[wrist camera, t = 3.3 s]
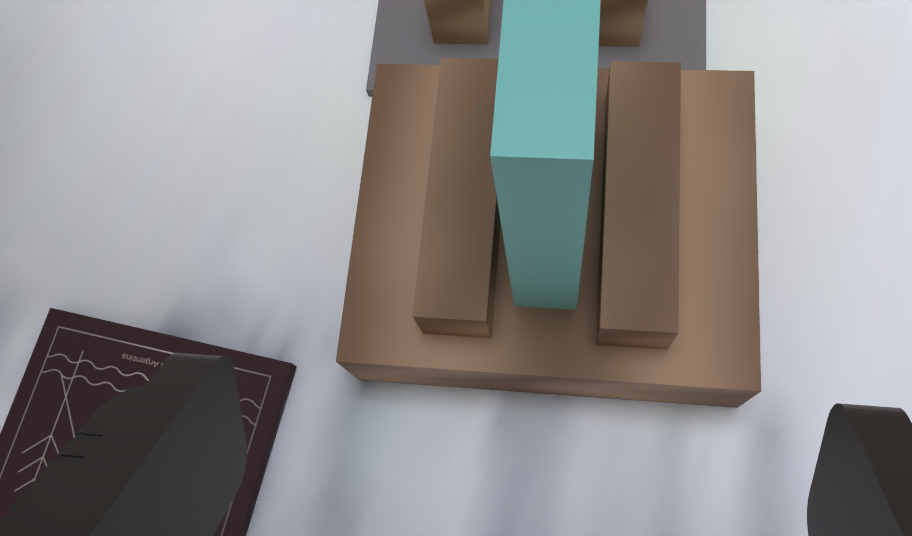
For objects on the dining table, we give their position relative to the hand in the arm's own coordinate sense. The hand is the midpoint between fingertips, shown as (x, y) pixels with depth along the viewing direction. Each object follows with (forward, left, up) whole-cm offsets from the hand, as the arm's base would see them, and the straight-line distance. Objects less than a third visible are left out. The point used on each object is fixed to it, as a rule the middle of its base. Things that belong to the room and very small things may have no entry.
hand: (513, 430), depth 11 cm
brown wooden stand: (0, +8, -15) cm, 17 cm away
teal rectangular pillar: (0, +8, -12) cm, 14 cm away
